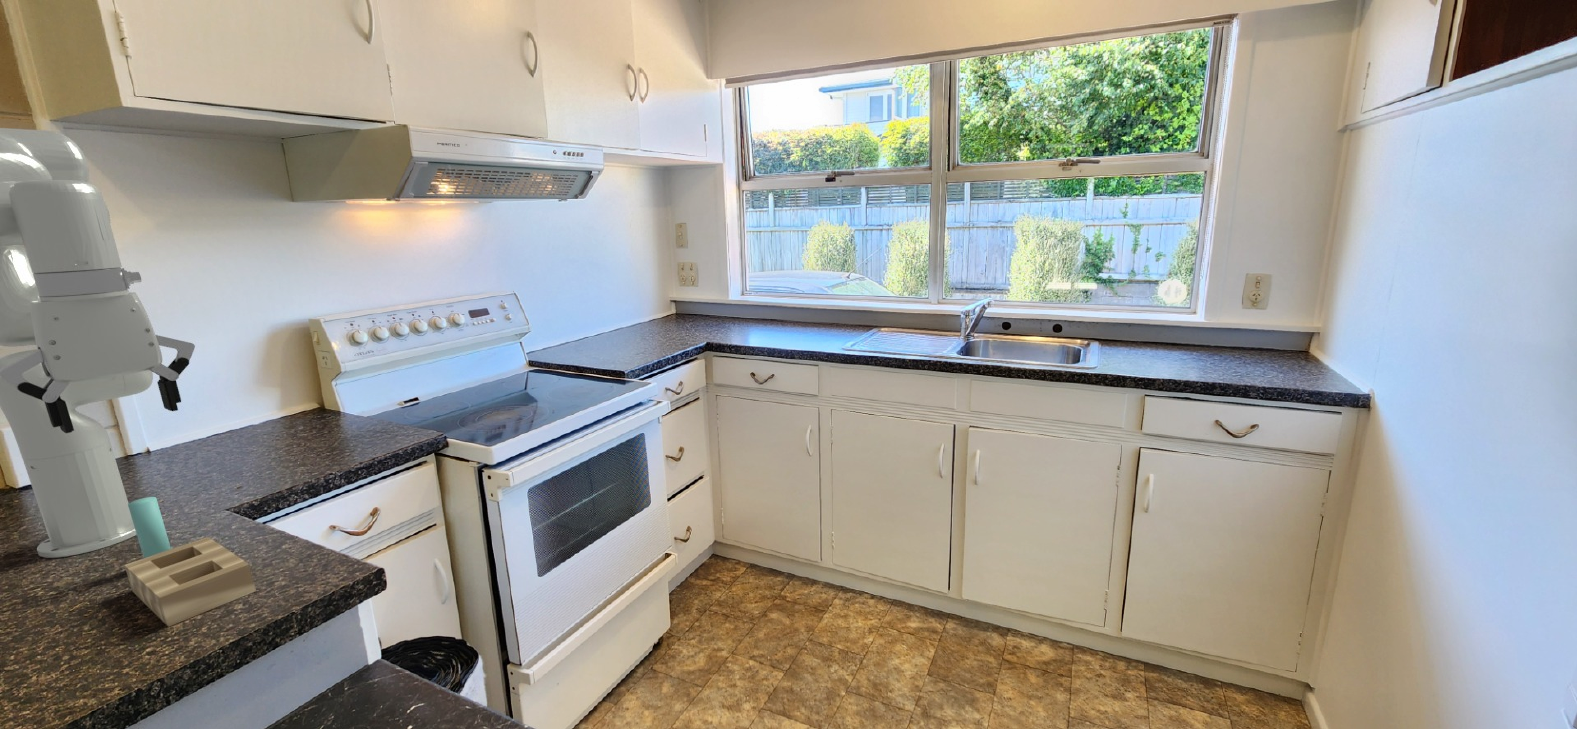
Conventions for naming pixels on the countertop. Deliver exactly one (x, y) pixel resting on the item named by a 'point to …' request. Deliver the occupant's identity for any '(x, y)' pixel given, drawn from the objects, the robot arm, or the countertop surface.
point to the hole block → (190, 580)
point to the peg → (149, 526)
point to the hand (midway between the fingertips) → (121, 419)
